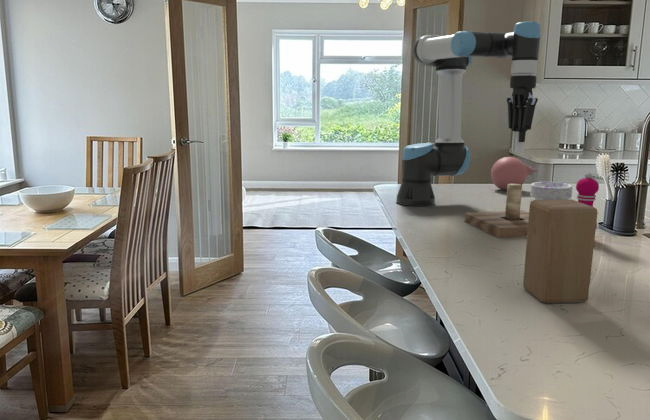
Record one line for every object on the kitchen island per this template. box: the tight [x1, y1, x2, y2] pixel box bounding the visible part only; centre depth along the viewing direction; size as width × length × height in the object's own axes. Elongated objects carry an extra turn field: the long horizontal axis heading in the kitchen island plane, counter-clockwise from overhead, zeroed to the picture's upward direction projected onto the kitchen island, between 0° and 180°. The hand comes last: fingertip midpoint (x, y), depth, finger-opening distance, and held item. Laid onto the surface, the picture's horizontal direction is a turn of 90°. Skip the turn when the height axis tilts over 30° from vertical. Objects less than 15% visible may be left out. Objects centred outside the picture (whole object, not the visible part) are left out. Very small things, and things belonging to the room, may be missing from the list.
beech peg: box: [505, 184, 523, 221], centre depth 173 cm, size 4×4×14 cm
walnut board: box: [464, 209, 529, 239], centre depth 174 cm, size 22×22×3 cm
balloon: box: [490, 156, 538, 192], centre depth 243 cm, size 15×20×15 cm
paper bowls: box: [529, 181, 573, 200], centre depth 214 cm, size 15×15×8 cm
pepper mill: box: [575, 172, 600, 229], centre depth 158 cm, size 7×7×20 cm
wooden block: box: [522, 198, 598, 304], centre depth 112 cm, size 10×10×20 cm
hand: (517, 152), depth 170 cm, fingers closed
